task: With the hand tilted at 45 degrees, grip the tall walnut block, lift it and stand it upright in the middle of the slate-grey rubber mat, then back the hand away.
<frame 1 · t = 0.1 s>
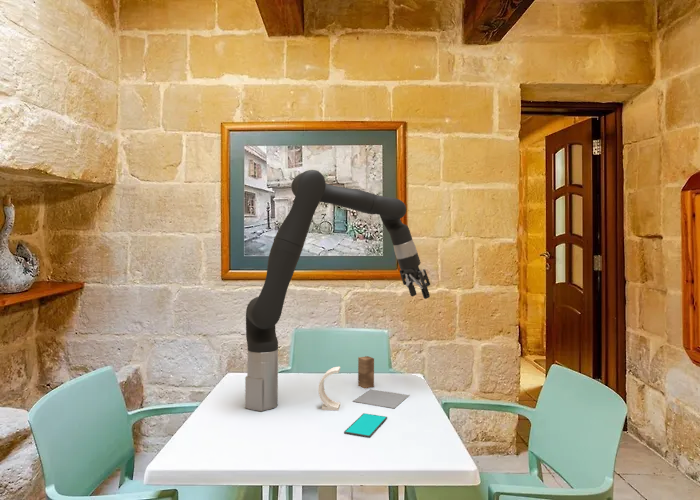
hand: (420, 296, 165), 31 cm above the table, tool tilted 20°, fingers open, 8 cm apart
smartphone: (366, 427, 126), on the table
walnut block: (365, 386, 162), on the table
headphone stand: (329, 408, 140), on the table
mat: (381, 398, 149), on the table
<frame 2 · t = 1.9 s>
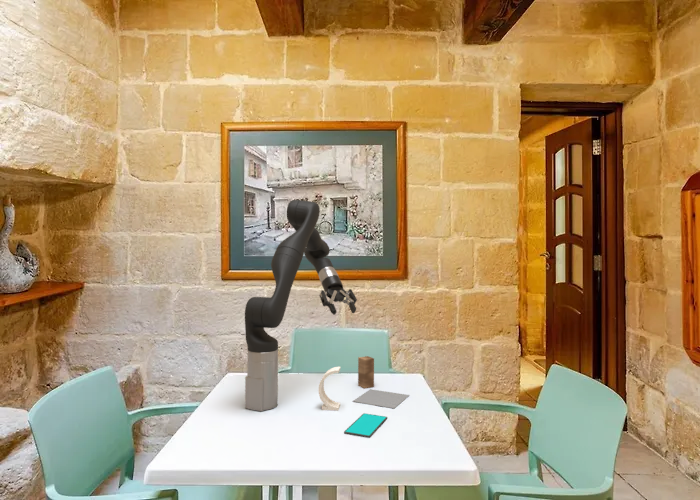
hand: (344, 312, 175), 24 cm above the table, tool tilted 45°, fingers open, 8 cm apart
nothing on the table moved.
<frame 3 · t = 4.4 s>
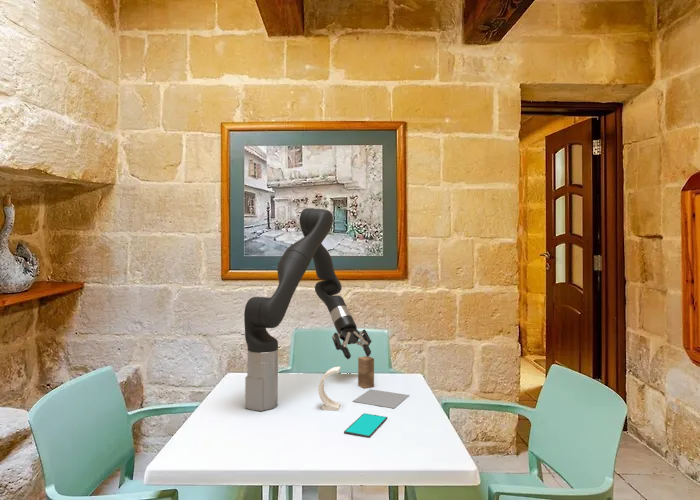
hand: (359, 356, 166), 10 cm above the table, tool tilted 45°, fingers open, 8 cm apart
nothing on the table moved.
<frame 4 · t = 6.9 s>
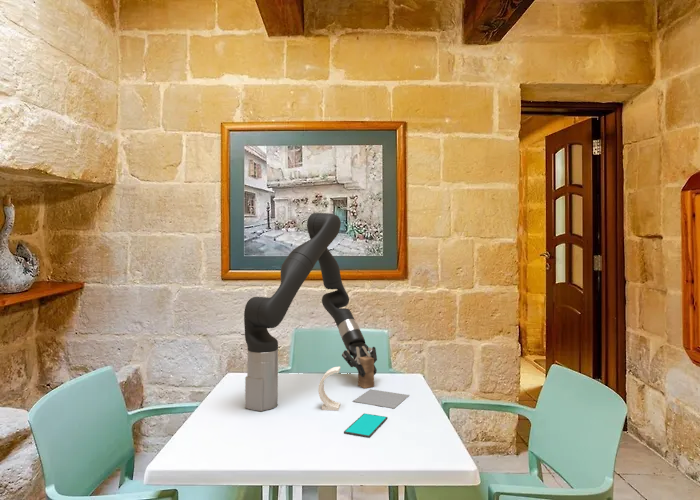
hand: (369, 374, 161), 5 cm above the table, tool tilted 45°, fingers closed on walnut block, 4 cm apart
walnut block: (365, 386, 162), on the table, touching gripper
everything else where it was.
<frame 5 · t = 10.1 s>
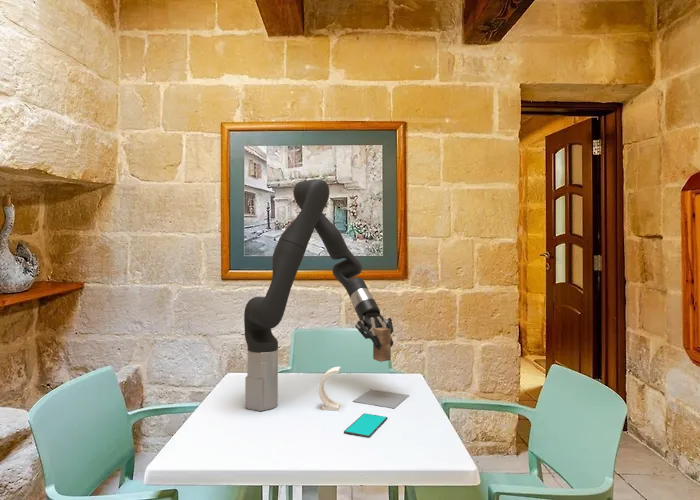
hand: (385, 346, 147), 17 cm above the table, tool tilted 45°, fingers closed on walnut block, 4 cm apart
walnut block: (381, 359, 149), point 13 cm above the table, touching gripper
everything else where it was.
when the fingers open (6 cm above the table, at t = 13.2 s): walnut block drops 1 cm, resting on mat.
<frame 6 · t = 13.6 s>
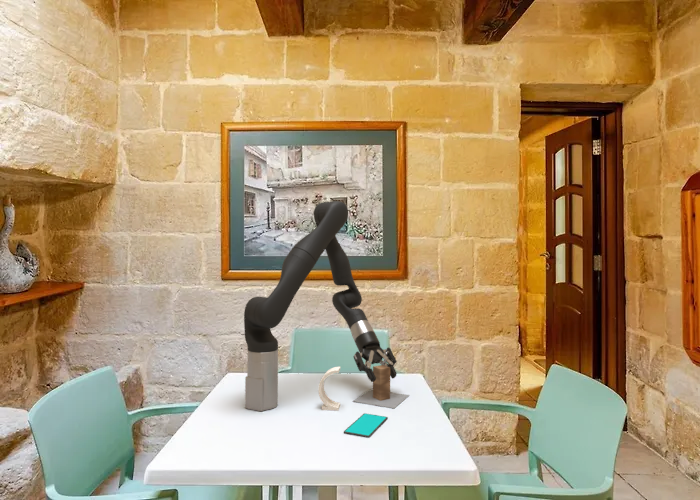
hand: (384, 378, 148), 7 cm above the table, tool tilted 45°, fingers open, 7 cm apart
walnut block: (381, 398, 149), resting on mat
everything else where it was.
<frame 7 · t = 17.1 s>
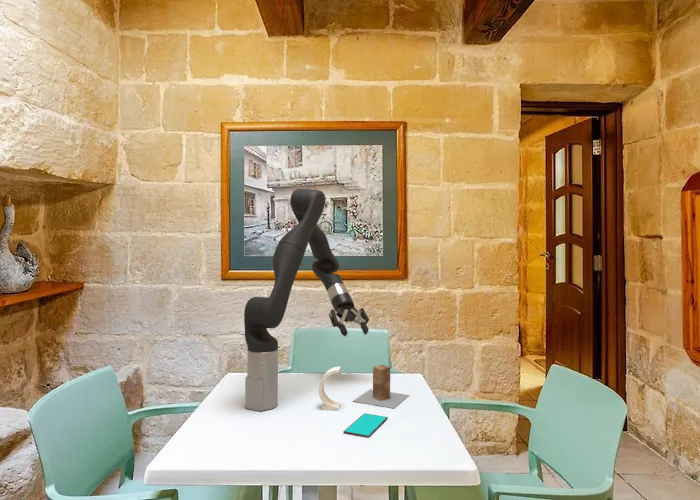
hand: (356, 334, 161), 19 cm above the table, tool tilted 45°, fingers open, 8 cm apart
nothing on the table moved.
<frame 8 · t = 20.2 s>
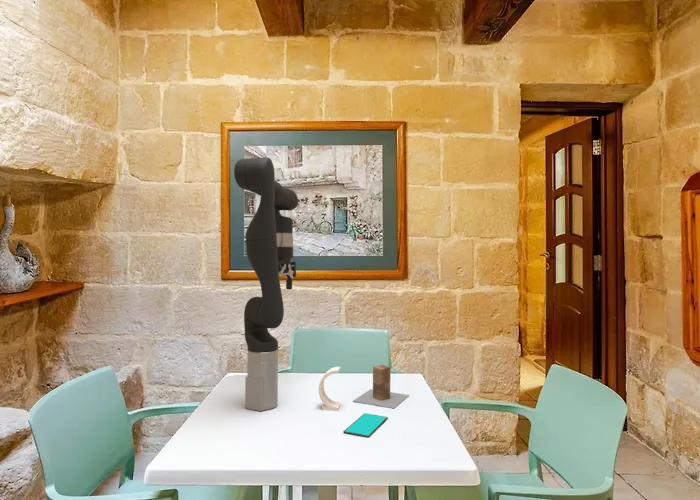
hand: (282, 290, 168), 33 cm above the table, tool pointing down, fingers open, 8 cm apart
nothing on the table moved.
at the end: walnut block 0.0 cm from the mat (horizontally); walnut block tilted 0°; the gripper is holding nothing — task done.
